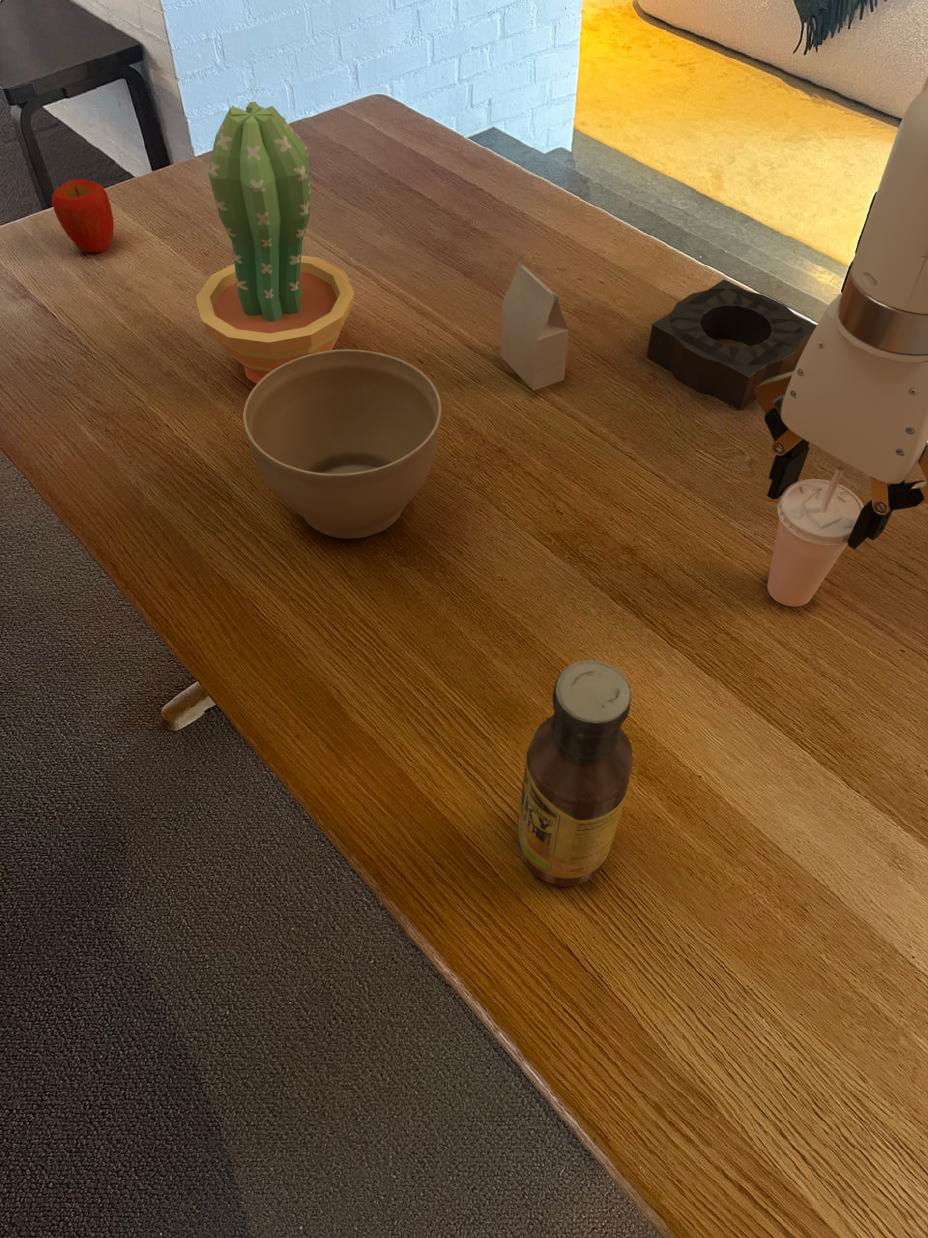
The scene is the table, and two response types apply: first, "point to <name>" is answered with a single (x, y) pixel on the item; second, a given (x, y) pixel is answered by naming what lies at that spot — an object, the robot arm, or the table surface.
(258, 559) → the table surface
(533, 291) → the gable top carton
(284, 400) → the planter bowl
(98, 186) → the apple
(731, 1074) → the table surface
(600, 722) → the sauce bottle
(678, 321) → the holder plate
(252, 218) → the potted cactus
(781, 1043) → the table surface
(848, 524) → the smoothie
